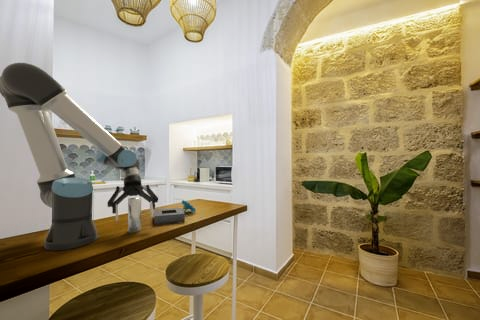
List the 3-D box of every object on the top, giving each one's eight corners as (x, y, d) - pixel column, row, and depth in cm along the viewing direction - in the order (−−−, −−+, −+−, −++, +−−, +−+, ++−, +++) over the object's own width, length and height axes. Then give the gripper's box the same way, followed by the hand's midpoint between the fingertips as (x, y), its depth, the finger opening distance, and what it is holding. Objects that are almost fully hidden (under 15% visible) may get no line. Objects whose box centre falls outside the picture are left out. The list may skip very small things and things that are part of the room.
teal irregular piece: (199, 210, 120) (187, 199, 117) (192, 218, 117) (180, 207, 114) (191, 209, 129) (180, 199, 125) (185, 217, 126) (173, 207, 122)
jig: (154, 224, 97) (154, 216, 98) (154, 217, 110) (154, 209, 110) (184, 221, 103) (184, 213, 103) (181, 214, 116) (181, 207, 116)
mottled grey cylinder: (127, 233, 86) (127, 199, 86) (128, 229, 90) (129, 197, 90) (140, 231, 88) (140, 199, 88) (141, 228, 92) (141, 197, 92)
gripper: (158, 183, 109) (164, 217, 96) (101, 185, 95) (100, 226, 83) (160, 173, 105) (167, 208, 92) (101, 175, 91) (99, 216, 78)
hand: (135, 217), depth 87 cm, fingers open, 13 cm apart
